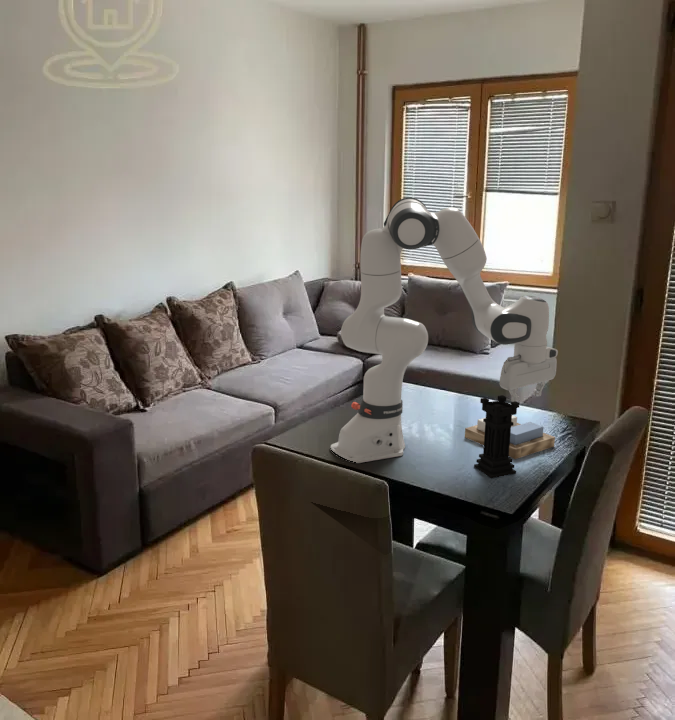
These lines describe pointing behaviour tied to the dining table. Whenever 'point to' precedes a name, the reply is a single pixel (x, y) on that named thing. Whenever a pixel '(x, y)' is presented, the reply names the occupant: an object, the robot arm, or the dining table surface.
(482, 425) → the ivory key
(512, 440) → the blue-grey rectangular block
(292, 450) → the dining table surface
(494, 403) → the chess piece
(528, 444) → the key console
